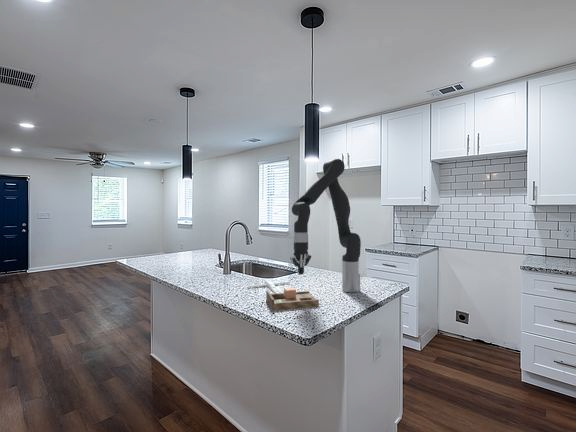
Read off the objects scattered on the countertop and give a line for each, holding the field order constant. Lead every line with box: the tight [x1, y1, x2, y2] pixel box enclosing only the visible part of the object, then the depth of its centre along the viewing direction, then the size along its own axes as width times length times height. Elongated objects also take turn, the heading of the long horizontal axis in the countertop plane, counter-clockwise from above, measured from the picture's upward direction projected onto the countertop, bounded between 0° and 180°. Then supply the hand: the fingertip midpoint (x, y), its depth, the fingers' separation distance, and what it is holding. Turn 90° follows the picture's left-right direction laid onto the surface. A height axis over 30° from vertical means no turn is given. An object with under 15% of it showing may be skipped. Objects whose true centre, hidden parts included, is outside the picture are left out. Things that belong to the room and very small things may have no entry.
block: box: [283, 286, 297, 298], centre depth 156 cm, size 5×5×4 cm
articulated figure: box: [247, 279, 291, 294], centre depth 177 cm, size 27×4×30 cm
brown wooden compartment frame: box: [265, 290, 320, 311], centre depth 153 cm, size 23×16×5 cm
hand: (301, 274), depth 158 cm, fingers closed
